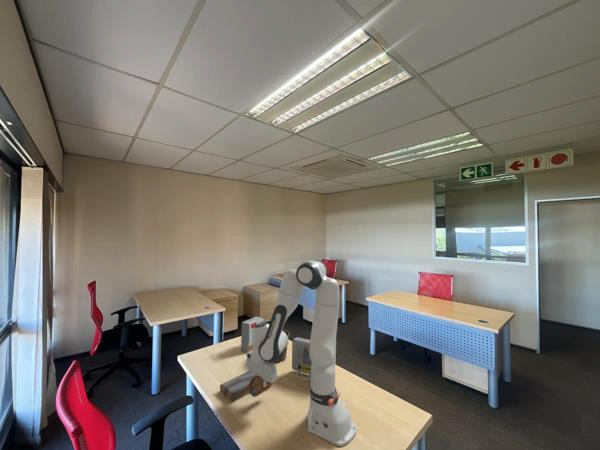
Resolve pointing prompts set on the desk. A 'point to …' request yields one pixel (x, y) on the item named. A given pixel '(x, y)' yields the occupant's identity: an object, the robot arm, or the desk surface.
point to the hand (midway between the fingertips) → (261, 384)
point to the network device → (301, 357)
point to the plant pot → (283, 354)
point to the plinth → (237, 386)
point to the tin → (257, 386)
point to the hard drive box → (248, 333)
